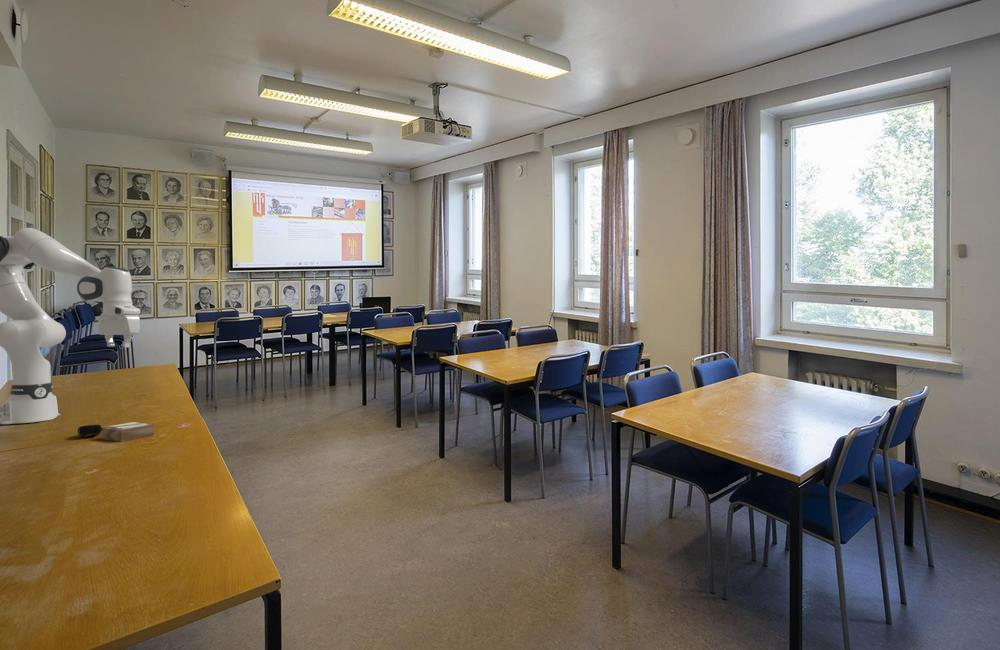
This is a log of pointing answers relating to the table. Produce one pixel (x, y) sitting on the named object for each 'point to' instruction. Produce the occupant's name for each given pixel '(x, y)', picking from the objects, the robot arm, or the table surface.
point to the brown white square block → (127, 431)
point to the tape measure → (89, 430)
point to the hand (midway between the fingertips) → (118, 347)
